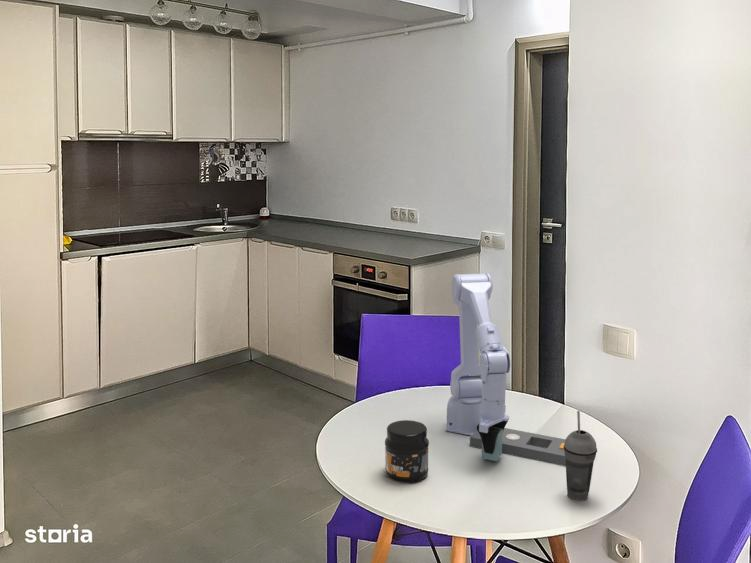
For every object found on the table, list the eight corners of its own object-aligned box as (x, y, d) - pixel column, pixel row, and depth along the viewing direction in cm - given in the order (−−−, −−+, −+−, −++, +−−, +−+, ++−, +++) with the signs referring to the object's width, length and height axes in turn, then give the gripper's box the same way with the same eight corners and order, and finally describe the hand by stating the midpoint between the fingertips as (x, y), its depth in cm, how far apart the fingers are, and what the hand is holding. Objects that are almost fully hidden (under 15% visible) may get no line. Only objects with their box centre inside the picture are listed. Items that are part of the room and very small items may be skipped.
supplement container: (376, 475, 172) (375, 428, 170) (402, 460, 180) (402, 415, 178) (411, 489, 165) (411, 440, 163) (437, 472, 173) (437, 426, 171)
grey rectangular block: (481, 457, 178) (482, 430, 177) (486, 451, 182) (487, 424, 180) (496, 461, 176) (497, 433, 175) (501, 454, 180) (502, 427, 178)
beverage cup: (576, 507, 157) (581, 421, 153) (554, 492, 163) (558, 410, 159) (601, 499, 160) (606, 415, 156) (578, 485, 167) (582, 404, 163)
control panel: (469, 446, 188) (470, 435, 188) (482, 432, 197) (482, 422, 196) (569, 466, 176) (570, 455, 176) (578, 450, 185) (578, 440, 184)
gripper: (499, 410, 168) (498, 464, 171) (517, 391, 180) (516, 441, 183) (471, 405, 171) (470, 458, 174) (491, 386, 184) (489, 436, 186)
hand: (491, 449), depth 179 cm, fingers closed on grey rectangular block, 4 cm apart
